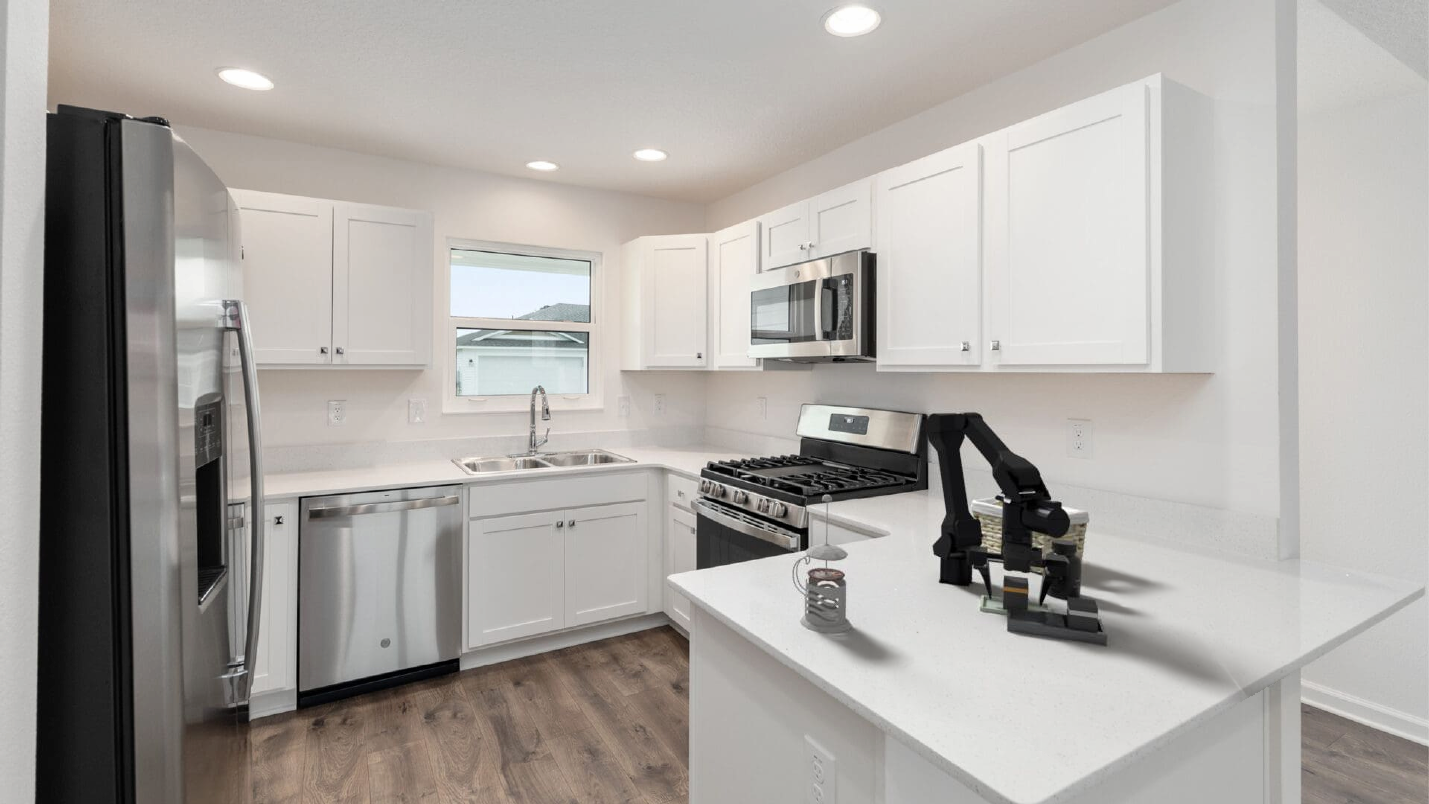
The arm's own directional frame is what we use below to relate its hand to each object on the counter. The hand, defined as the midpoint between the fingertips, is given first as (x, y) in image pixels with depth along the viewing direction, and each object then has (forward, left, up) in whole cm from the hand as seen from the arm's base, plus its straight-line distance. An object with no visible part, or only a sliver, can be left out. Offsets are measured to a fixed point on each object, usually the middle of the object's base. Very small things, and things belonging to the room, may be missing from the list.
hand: (1015, 602), depth 133 cm
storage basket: (+3, +40, -2) cm, 41 cm away
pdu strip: (+6, -9, -2) cm, 11 cm away
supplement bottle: (+9, +14, -2) cm, 17 cm away
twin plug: (+11, -9, -1) cm, 14 cm away
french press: (-35, -22, -2) cm, 41 cm away
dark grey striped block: (0, 0, -1) cm, 1 cm away
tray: (0, 0, -2) cm, 2 cm away
